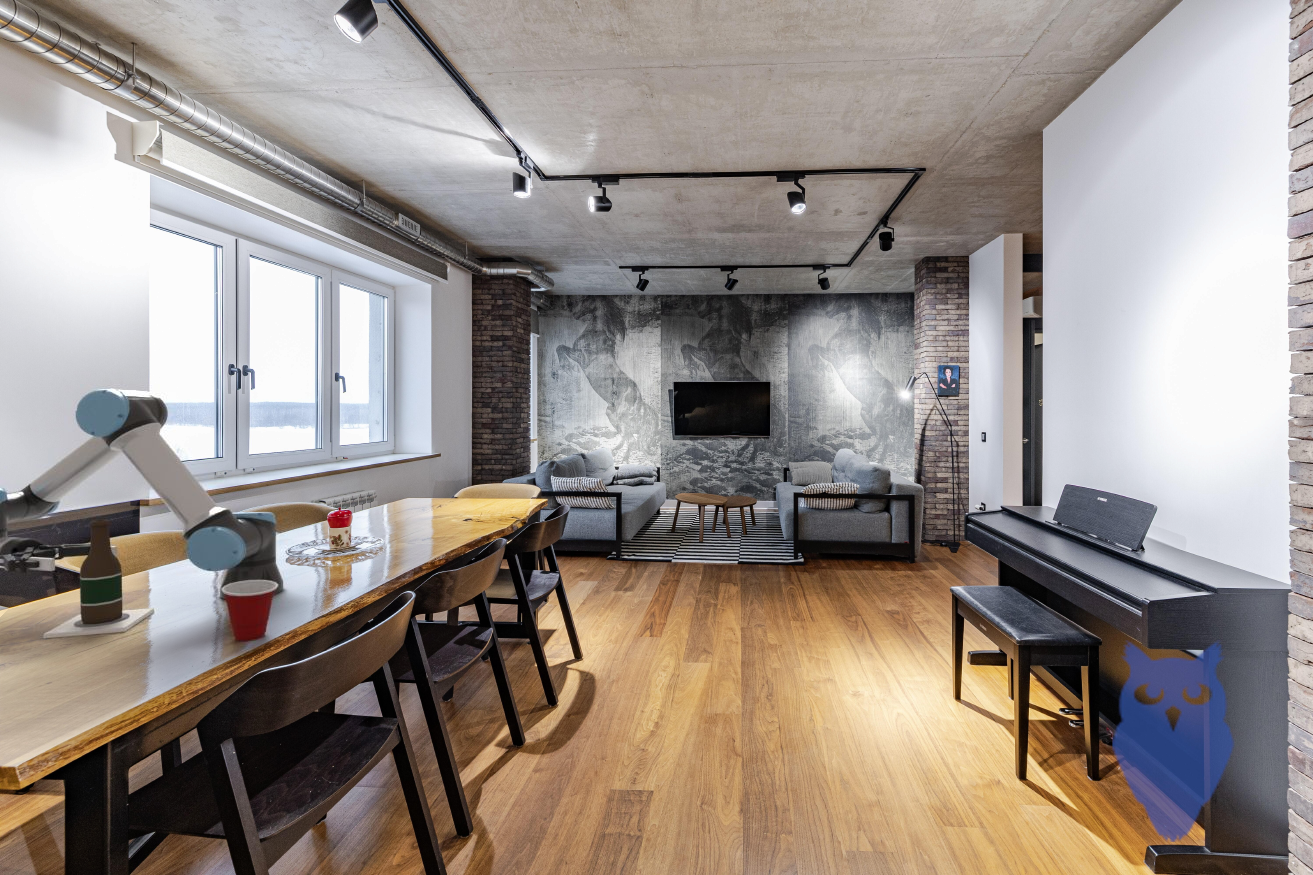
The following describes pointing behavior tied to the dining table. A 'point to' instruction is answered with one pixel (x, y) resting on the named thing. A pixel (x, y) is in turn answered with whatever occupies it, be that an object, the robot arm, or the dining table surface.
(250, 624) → the plastic cup
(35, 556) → the robot arm
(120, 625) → the tile
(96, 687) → the dining table surface
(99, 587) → the beer bottle
